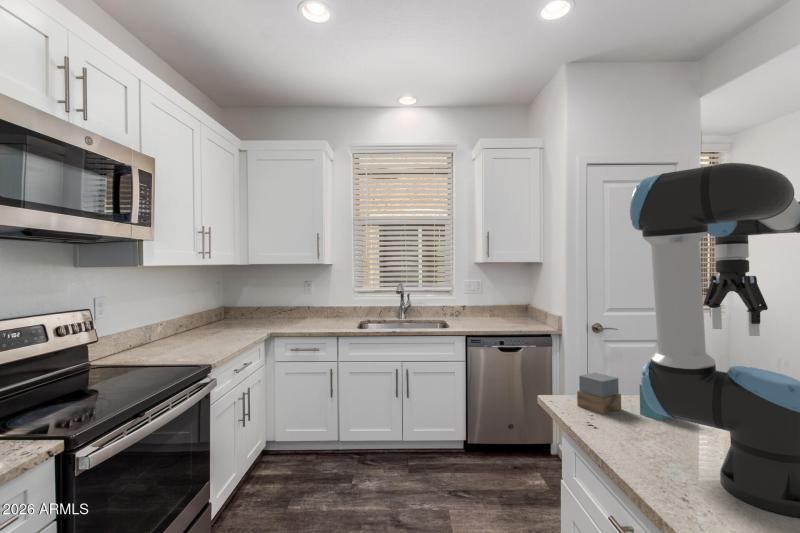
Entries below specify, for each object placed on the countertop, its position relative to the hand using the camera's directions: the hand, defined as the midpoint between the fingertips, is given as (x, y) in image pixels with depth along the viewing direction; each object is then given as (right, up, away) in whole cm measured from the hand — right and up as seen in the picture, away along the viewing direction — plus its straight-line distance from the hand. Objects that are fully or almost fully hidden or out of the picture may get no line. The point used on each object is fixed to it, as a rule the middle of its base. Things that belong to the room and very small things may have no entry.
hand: (733, 332), depth 114 cm
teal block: (-20, -26, +4) cm, 33 cm away
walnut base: (-34, -26, +11) cm, 44 cm away
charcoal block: (-34, -21, +11) cm, 41 cm away
